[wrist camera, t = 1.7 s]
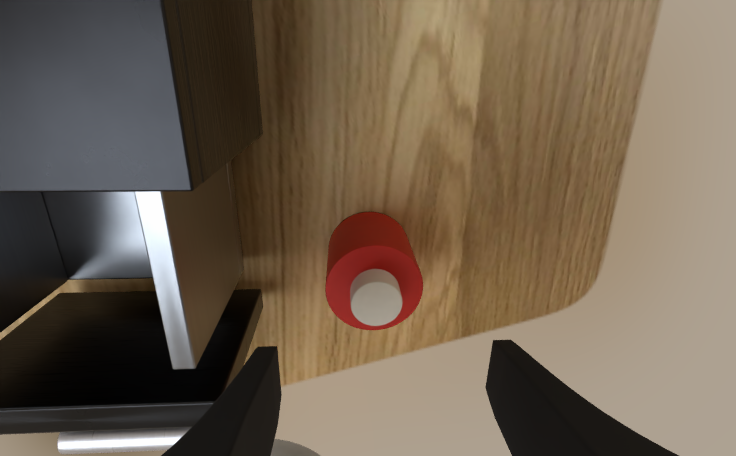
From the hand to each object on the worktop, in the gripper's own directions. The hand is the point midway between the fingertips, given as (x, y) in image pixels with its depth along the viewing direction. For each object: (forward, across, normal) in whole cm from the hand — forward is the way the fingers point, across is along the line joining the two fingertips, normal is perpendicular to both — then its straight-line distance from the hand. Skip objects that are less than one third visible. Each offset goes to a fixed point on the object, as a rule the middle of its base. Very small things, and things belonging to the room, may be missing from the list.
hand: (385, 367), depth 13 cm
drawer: (+8, +11, -1) cm, 14 cm away
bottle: (+9, 0, 0) cm, 9 cm away
